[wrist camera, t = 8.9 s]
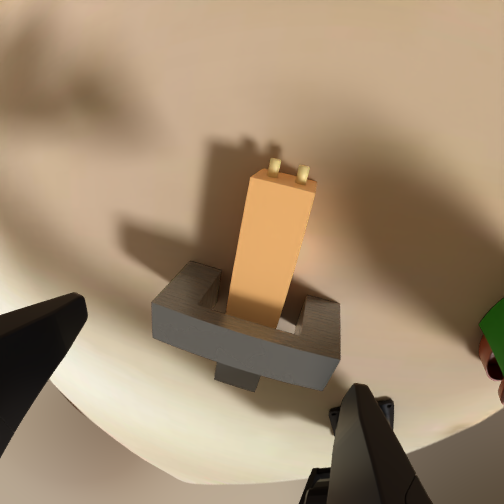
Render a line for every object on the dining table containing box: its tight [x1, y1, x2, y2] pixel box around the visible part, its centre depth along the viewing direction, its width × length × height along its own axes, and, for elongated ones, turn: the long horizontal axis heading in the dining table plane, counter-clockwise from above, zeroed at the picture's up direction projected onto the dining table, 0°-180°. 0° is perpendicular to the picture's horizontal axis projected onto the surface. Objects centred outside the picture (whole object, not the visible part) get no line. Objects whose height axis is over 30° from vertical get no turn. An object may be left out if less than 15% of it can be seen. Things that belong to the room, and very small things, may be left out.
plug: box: [214, 158, 317, 392], centre depth 19 cm, size 17×3×3 cm, turn 169°
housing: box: [152, 261, 340, 391], centre depth 19 cm, size 3×11×6 cm, turn 79°
